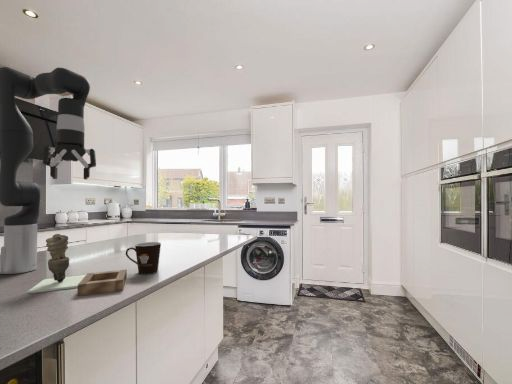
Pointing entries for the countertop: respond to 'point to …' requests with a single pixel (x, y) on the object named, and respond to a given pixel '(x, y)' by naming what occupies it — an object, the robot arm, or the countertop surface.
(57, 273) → the light bulb
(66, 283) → the mat
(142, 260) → the coffee mug
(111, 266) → the countertop surface
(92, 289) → the brown wooden square frame
